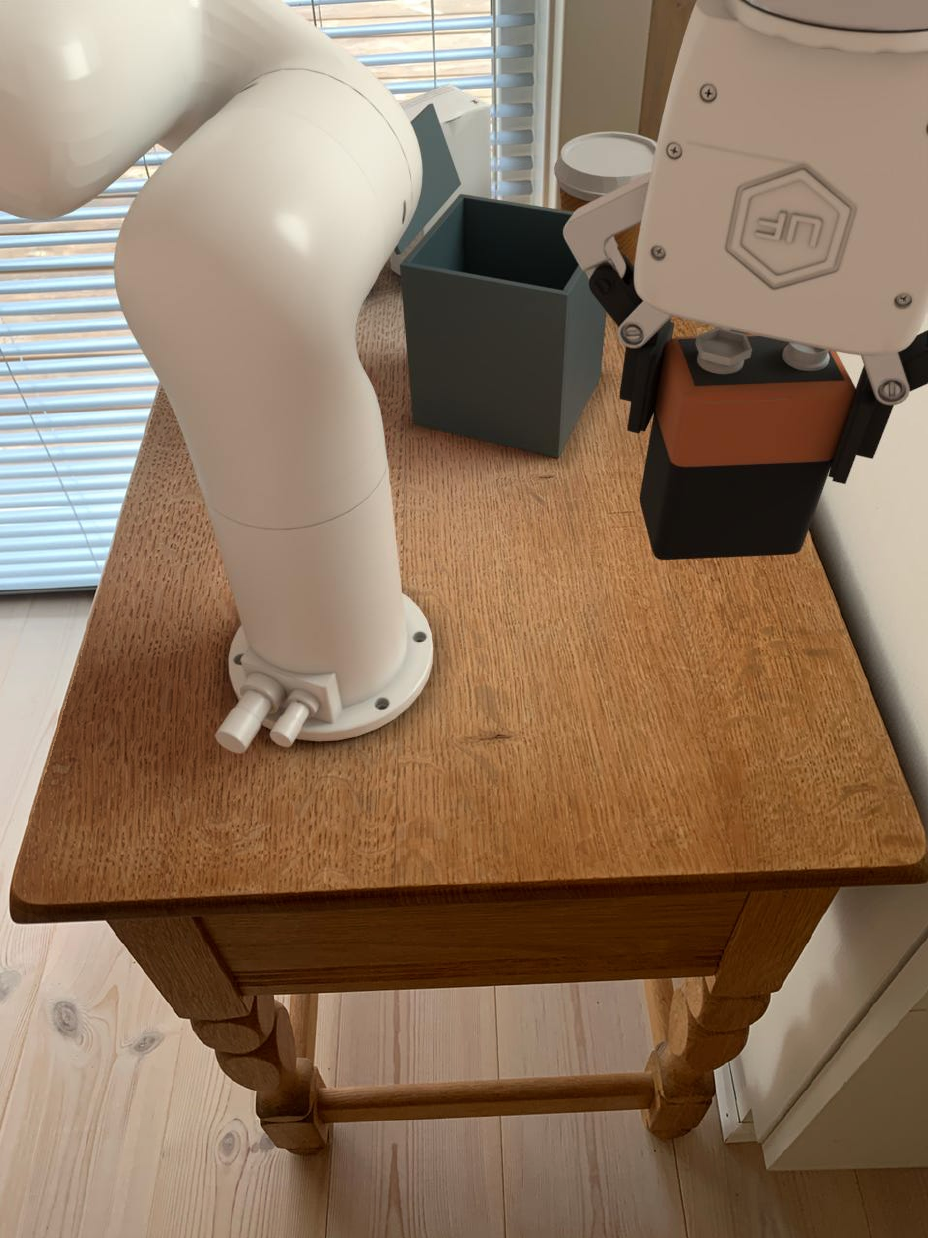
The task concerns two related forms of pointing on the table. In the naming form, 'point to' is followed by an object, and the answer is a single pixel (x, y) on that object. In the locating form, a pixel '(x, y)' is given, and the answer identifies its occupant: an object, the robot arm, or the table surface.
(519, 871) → the table surface
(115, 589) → the table surface
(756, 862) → the table surface
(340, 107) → the robot arm
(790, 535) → the battery
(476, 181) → the cosmetic box
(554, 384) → the carton
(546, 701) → the table surface
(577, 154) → the disposable coffee cup
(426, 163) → the flap
